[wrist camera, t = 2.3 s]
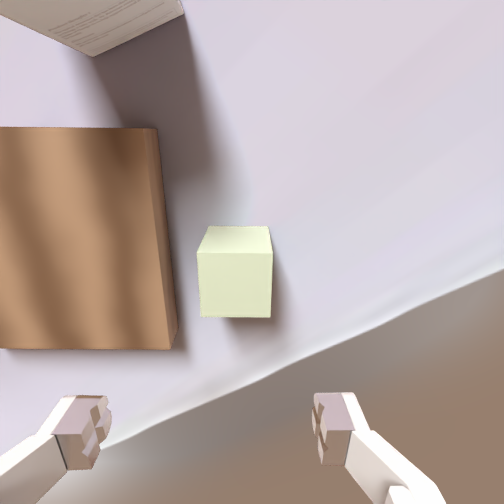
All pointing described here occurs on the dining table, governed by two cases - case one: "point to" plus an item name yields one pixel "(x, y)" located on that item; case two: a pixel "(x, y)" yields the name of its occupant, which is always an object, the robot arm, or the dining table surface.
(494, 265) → the dining table surface
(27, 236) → the walnut stand
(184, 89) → the dining table surface
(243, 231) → the sage block
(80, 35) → the supplement box
